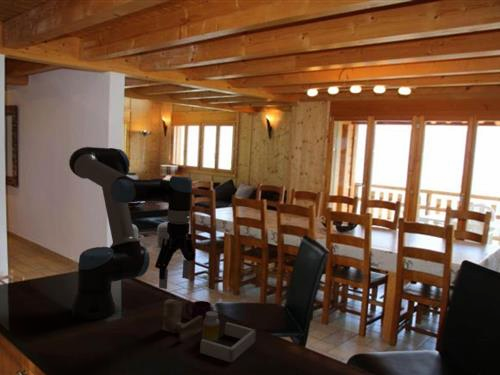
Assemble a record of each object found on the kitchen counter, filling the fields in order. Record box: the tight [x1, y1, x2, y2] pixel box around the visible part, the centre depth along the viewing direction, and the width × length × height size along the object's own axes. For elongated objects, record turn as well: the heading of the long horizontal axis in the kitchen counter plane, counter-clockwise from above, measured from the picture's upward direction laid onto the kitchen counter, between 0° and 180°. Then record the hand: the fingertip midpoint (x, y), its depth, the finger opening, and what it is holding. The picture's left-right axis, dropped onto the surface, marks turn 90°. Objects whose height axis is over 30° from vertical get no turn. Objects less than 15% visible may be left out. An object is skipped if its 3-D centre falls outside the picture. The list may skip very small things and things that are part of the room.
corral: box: [199, 321, 257, 364], centre depth 141 cm, size 11×17×4 cm, turn 155°
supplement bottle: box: [201, 311, 220, 343], centre depth 144 cm, size 5×5×10 cm
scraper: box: [162, 298, 203, 344], centre depth 149 cm, size 11×12×10 cm
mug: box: [185, 300, 212, 325], centre depth 160 cm, size 7×10×7 cm
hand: (174, 283), depth 149 cm, fingers open, 13 cm apart
